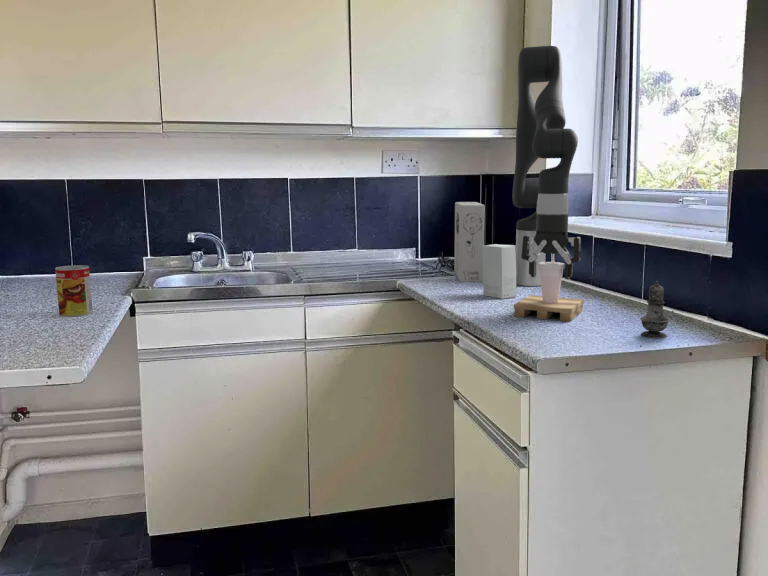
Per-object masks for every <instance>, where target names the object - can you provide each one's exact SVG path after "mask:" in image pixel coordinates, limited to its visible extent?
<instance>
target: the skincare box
mask: <svg viewBox="0 0 768 576" xmlns="http://www.w3.org/2000/svg"><path fill="white" fill-rule="evenodd" d="M482 255H483V282H482V283H483V284H482V286H483V289H482V291H483V293H482V294H483V296H484V297H486V296H487V297H492V298H496V299H501V300H502V299H503V300H505V299H512V298H516V297H517V284H516V244H515V245H514V244H500V243H499V244H497V243H494V244H486V245H485V244H484V246H482Z"/></svg>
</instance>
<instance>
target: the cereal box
mask: <svg viewBox="0 0 768 576" xmlns="http://www.w3.org/2000/svg"><path fill="white" fill-rule="evenodd" d="M485 207H486V205H485V204H482V203H480V202H477V201H456V202H455V203H454V260H453V261H454V263H453V264H454V266H453V267H454V269H453V270H454V271H453V272H454V274H455V275H456V277H457V278H458V280H459V282H460V283H483V255H482V246H485V215H486V214H485Z"/></svg>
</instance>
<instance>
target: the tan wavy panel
mask: <svg viewBox="0 0 768 576" xmlns="http://www.w3.org/2000/svg"><path fill="white" fill-rule="evenodd" d="M584 300H585V299H583V298H582V299H581V298H571V297H570V298H567V297H559V299H558V303H544V302H543V299H542V295H533V294H532V295H527V296H526V297H524V298H522V299H520V300H519V301H517V302H515V303H514V304H513V309H514V312H513V313H514V315H513V316H514V317H517V318H525V317H527V316H528V315H530V314H531V313H532V312H535V311H536V319H538V320H548V319H549V318H551V317H552V316H554V314H556V313H559V321H561V322H572V321H573V320H574V319H576V317H578V316H579V314H581V313H582V312H583V307H584V304H585V303H584V302H585V301H584Z"/></svg>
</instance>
